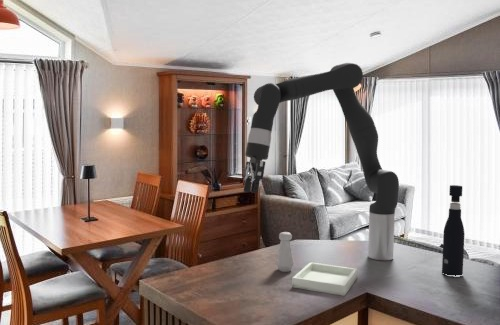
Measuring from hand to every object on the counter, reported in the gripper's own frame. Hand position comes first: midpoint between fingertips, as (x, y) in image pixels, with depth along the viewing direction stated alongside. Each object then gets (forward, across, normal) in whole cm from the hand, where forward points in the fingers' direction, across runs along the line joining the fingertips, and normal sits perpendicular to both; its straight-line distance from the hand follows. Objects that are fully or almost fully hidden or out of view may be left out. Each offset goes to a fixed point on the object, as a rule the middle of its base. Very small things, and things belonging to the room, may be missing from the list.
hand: (250, 192), depth 148 cm
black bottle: (+15, -14, -71) cm, 74 cm away
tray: (+24, -10, -27) cm, 37 cm away
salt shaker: (+24, +5, -18) cm, 31 cm away
